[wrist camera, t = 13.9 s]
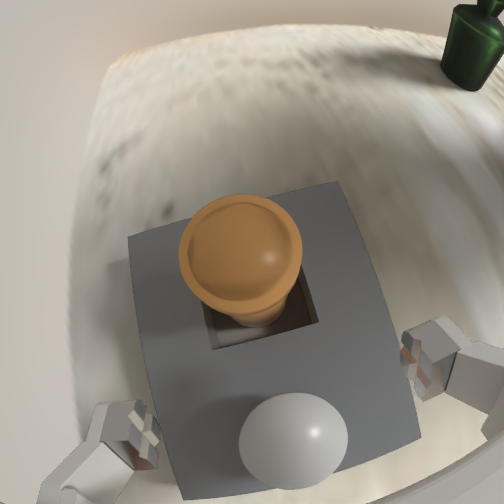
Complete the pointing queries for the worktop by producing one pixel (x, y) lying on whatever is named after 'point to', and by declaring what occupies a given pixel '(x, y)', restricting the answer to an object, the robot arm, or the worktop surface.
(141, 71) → the worktop surface
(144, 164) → the worktop surface
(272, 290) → the mushroom head peg
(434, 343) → the robot arm
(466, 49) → the potion bottle
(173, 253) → the gray peg hole board
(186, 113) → the worktop surface
